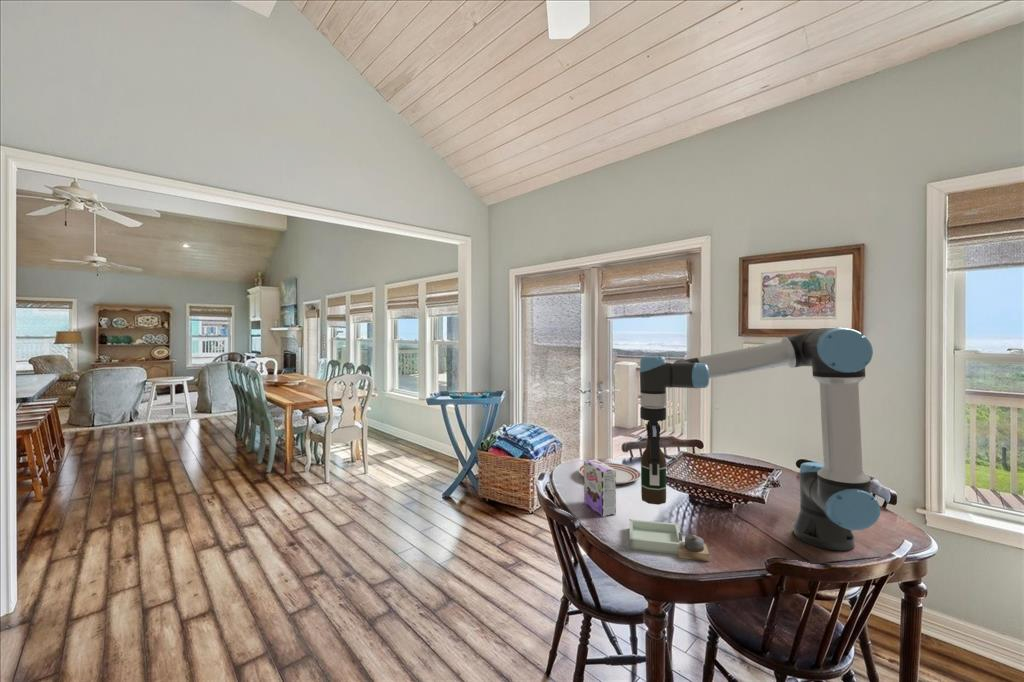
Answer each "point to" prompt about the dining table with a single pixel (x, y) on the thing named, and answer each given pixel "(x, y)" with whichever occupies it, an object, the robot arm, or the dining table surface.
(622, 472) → the dinner plate
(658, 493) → the beer bottle
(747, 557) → the dining table surface
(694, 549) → the grey stone on stand
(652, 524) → the tray
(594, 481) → the candy box
